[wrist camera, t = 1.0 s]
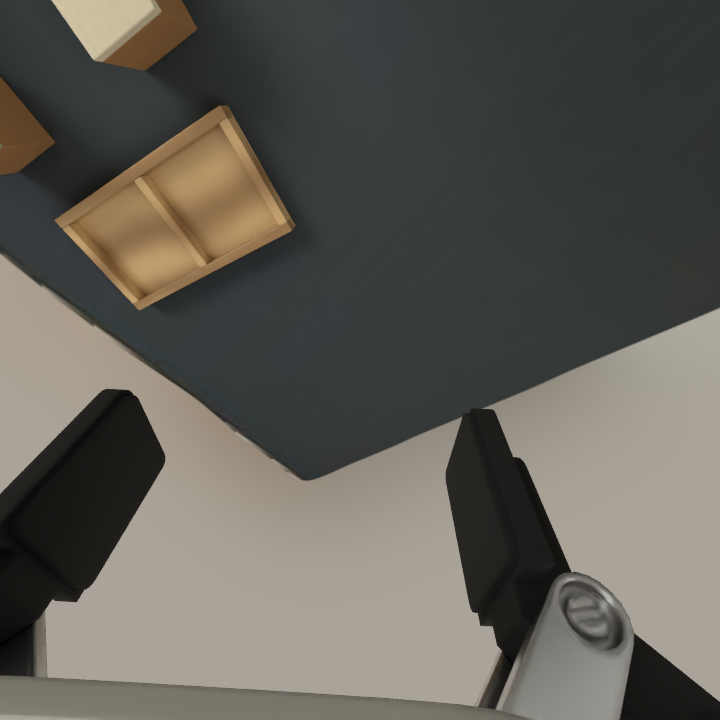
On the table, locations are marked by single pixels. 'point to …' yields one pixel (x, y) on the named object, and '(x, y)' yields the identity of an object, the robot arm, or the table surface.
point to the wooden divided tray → (180, 212)
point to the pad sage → (18, 133)
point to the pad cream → (128, 28)
